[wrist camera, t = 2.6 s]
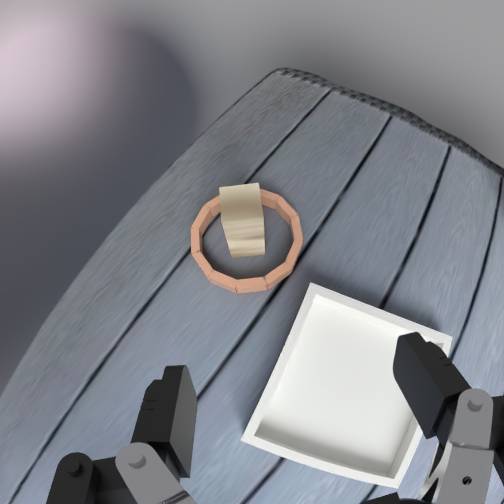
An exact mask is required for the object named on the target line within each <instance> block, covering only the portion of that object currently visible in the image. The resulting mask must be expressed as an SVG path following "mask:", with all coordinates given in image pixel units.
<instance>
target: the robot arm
mask: <svg viewBox="0 0 504 504" xmlns="http://www.w3.org/2000/svg"><path fill="white" fill-rule="evenodd" d="M393 375H394V378H395V381H396V382H397V384H398V386H399V388H400V390H401V392H402V393H403V395H404V397H405V399H406V401H407V403H408V405H409V407H410V408H411V410H412V412H413V414H414V416H415V418H416V420H417V422H418V424H419V426H420V428H421V430H422V432H423V434H424V436H425V438H426V439H429V438H432V437H434V436H437V438H438V440H439V441H438V443H437V445H436V449H435V452H434V456H433V459H432V462H431V465H430V468H429V471H428V474H427V477H426V480H425V483H424V485H423V487H422V489H421V491H420V493H419V495H418V497H417V499H410V498H402V499H399V496H398V494H397V492H395V493H392V494H389V495H385V496H382V497H379V498H375V499H372V500H368V501H365V502H363V503H361V504H485V500H486V495H487V491H488V486H489V481H490V476H491V470H492V464H494V466H495V468H496V471H497V473H498V475H499V477H500V479H501V481H502V483H503V486H504V396H496V397H491V396H490V395H489V394H488V393H487V392H485V391H483V390H481V389H476V388H473V389H472V388H471V387H470V386H469V384H468V383H467V381H466V380H465V379H464V377H463V376H462V375H461V373H460V372H459V371H458V369H457V368H456V367H455V366H454V364H452V362H451V360H450V359H449V358H447V355H446V354H445V353H444V351H443V350H442V349H441V348H440V347H439V346H437V345H436V344H434V343H433V342H431V341H428V342H426V341H425V340H424V338H423V337H422V336H421V335H420V333H419V332H412V333H408V334H404V335H400V336H399V337H398V339H397V345H396V350H395V356H394V361H393ZM140 409H141V411H140V412H139V415H138V418H137V422H136V426H135V429H134V433H133V436H132V440H131V443H130V444H128V445H126V446H124V447H123V448H122V449H121V450H120V451H119V452H118V453H117V456H115V457H111V458H106V459H100V460H94V461H92V460H91V459H90V458H89V457H88V456H87V455H85V454H83V453H78V452H76V453H70V454H68V455H66V456H65V457H63V458H62V459H61V460H60V462H59V464H58V466H57V469H56V473H55V476H54V479H53V482H52V485H51V489H50V492H49V495H48V499H47V502H46V504H197V503H196V502H195V501H194V499H193V498H192V497H191V496H190V495H189V494H188V493H187V492H186V491H185V490H184V489H183V487H182V486H181V485H180V477H181V478H190V469H191V459H192V450H193V441H194V432H195V423H196V414H197V397H196V392H195V389H194V386H193V383H192V380H191V377H190V374H189V370H188V368H187V366H186V365H177V366H166V367H165V370H164V374H163V377H162V380H153V382H152V383H151V384H150V385H149V386H148V388H147V389H146V391H145V395H144V398H143V402H142V405H141V408H140Z"/></svg>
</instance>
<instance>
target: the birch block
mask: <svg viewBox="0 0 504 504" xmlns="http://www.w3.org/2000/svg"><path fill="white" fill-rule="evenodd" d="M219 191H220V207H221V222H222V225H223V229H224V232H225V236H226V239H227V243H228V246H229V250H230V253H231V257H232V258H238V257H247V256H256V255H264V254H265V238H264V216H263V209H262V202H261V195H260V188H259V183H252V184H244V185H235V186H227V187H220V188H219Z"/></svg>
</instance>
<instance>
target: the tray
mask: <svg viewBox="0 0 504 504" xmlns="http://www.w3.org/2000/svg"><path fill="white" fill-rule="evenodd" d="M412 332H419V333H420V335H421V336H422V337H423V338H424V340H425V341H426V342H428V341H431V342H433V343H434V344H436V345H437V346H439V347H440V348H441V349H442V350H443V351H444V353H445V354H446V355H447V358H448V354H449V350H450V346H451V342H452V338H453V337H451V336H449V335H446V334H443V333H441V332H438V331H436V330H433V329H430V328H428V327H425V326H422V325H420V324H417V323H415V322H412V321H409V320H407V319H404V318H402V317H399V316H396V315H394V314H391V313H389V312H386V311H383V310H381V309H378V308H376V307H373V306H370V305H368V304H365V303H363V302H360V301H357V300H355V299H352V298H350V297H347V296H345V295H342V294H339V293H337V292H334V291H332V290H329V289H327V288H324V287H321V286H319V285H316V284H314V283H310V285H309V288H308V290H307V293H306V295H305V298H304V300H303V302H302V305H301V307H300V310H299V312H298V315H297V317H296V319H295V322H294V324H293V327H292V329H291V331H290V334H289V336H288V338H287V341H286V343H285V345H284V348H283V350H282V352H281V354H280V357H279V359H278V361H277V363H276V366H275V368H274V370H273V372H272V375H271V377H270V379H269V381H268V383H267V386H266V388H265V390H264V392H263V394H262V396H261V399H260V401H259V403H258V405H257V407H256V409H255V411H254V413H253V415H252V417H251V420H250V422H249V424H248V426H247V428H246V430H245V432H244V434H243V436H242V438H241V441H243V442H246V443H248V444H251V445H253V446H255V447H258V448H260V449H263V450H266V451H268V452H271V453H273V454H276V455H279V456H281V457H284V458H287V459H290V460H293V461H296V462H299V463H302V464H305V465H308V466H311V467H314V468H317V469H320V470H324V471H327V472H330V473H334V474H337V475H341V476H345V477H348V478H352V479H356V480H360V481H364V482H369V483H373V484H378V485H382V486H387V487H392V488H398V487H399V485H400V483H401V481H402V479H403V477H404V475H405V473H406V470H407V468H408V466H409V464H410V462H411V460H412V457H413V455H414V453H415V451H416V448H417V446H418V443H419V441H420V439H421V436H422V434H423V432H422V430H421V428H420V426H419V424H418V422H417V420H416V418H415V416H414V414H413V412H412V410H411V408H410V407H409V405H408V403H407V401H406V399H405V397H404V395H403V393H402V392H401V390H400V388H399V386H398V384H397V382H396V381H395V378H394V375H393V361H394V356H395V350H396V345H397V339H398V337H399V336H400V335H404V334H408V333H412Z"/></svg>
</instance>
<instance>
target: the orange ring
mask: <svg viewBox="0 0 504 504" xmlns="http://www.w3.org/2000/svg"><path fill="white" fill-rule="evenodd" d="M260 195H261V202H262V205H264V206H267V207H270V208H273V209H275V210H276V211H277V212H278V213H279V214H280V215H281V216H282V217H283V218H284V220H285V221H286V222H287V223H288V224H289V225H290V229H291V235H292V241H293V245H292V247H291V249H290V252H289V254H288V256H287V258H286V261H285V262H284V263H283V264H281V265H280V266H278V267H277V268H276V269H274V270H273V271H271V272H270V273H269V274H267V275H266V276H264V277H258V278H249V279H240V280H236V279H234V278H232V277H229V276H227V275H224V274H222V273H220V272H217V271H215V270H213V269H212V267H211V266H210V264H209V263H208V262H207V260H206V259H205V257H204V256H203V245H202V235H203V233H204V232H205V230H206V228H207V226H208V224H209V223H210V221H211V219H212V217H213V216H215V215H216V214H218V213H219V212H221V207H220V195H218V196H217V197H215V198H214V199H212V200H210V201H209V202H207V203H206V204H205V205H204V206H203V207H202V209H201V211H200V212H199V214H198V216H197V218H196V219H195V221H194V223H193V225H192V226H191V253H192V256H193V257H194V259H195V261H196V262H197V264H198V265H199V267H200V268H201V270H202V271H203V272H204V274H205V275H206V277H207V278H208V280H209V281H210V282H211V283H213V284H215V285H218V286H220V287H222V288H225V289H227V290H229V291H232V292H234V293H236V294H237V292H238V294H241V293H250V292H258V291H267V289H268V290H269V289H270V288H272V287H273V286H274V285H276V284H277V283H279V282H280V281H281V280H283V279H284V278H285V277H287V276H288V275H290V274H291V272H292V271H293V268H294V266H295V264H296V261H297V259H298V256H299V254H300V252H301V249H302V245H303V236H302V230H301V225H300V220H299V215H298V214H297V213H296V212H295V210H294V209H293V208H292V207H291V206H290V205H289V204H288V203H287V202H286V201H285V200H284V199H283V198H282V197H281V196H280V195H278V194H275V193H272V192H269V191H266V190H263V189H260Z"/></svg>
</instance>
